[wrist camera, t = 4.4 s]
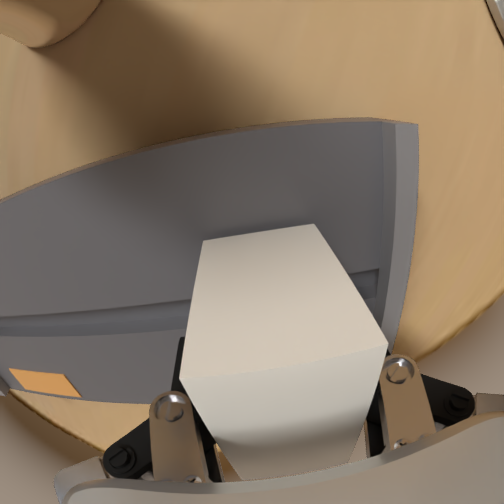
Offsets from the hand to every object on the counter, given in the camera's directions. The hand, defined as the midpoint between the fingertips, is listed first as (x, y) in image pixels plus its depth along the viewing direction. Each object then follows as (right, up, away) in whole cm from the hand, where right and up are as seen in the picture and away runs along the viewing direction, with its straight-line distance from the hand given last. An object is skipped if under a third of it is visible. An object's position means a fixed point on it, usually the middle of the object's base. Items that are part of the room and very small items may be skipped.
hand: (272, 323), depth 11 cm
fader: (0, +1, +2) cm, 2 cm away
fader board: (-9, +1, +4) cm, 10 cm away
